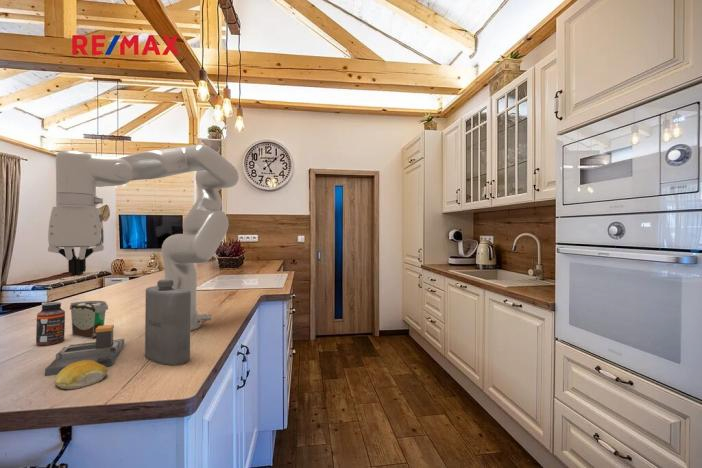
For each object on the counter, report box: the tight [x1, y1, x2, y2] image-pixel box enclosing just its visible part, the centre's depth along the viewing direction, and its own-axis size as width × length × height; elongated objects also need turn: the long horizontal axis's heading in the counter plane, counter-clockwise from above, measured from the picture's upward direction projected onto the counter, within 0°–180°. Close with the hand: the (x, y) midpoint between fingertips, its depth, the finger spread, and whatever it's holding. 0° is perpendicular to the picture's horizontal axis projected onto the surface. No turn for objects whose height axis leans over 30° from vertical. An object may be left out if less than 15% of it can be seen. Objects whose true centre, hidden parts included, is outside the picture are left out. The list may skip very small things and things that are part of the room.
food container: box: [69, 300, 109, 340], centre depth 99 cm, size 12×6×10 cm, turn 71°
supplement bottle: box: [35, 301, 66, 346], centre depth 91 cm, size 6×6×11 cm
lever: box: [95, 324, 115, 348], centre depth 82 cm, size 3×3×6 cm
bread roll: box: [54, 360, 108, 390], centre depth 68 cm, size 8×9×4 cm
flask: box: [144, 278, 191, 366], centre depth 81 cm, size 15×6×20 cm, turn 60°
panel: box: [44, 338, 125, 377], centre depth 80 cm, size 12×17×3 cm
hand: (77, 274), depth 79 cm, fingers closed
